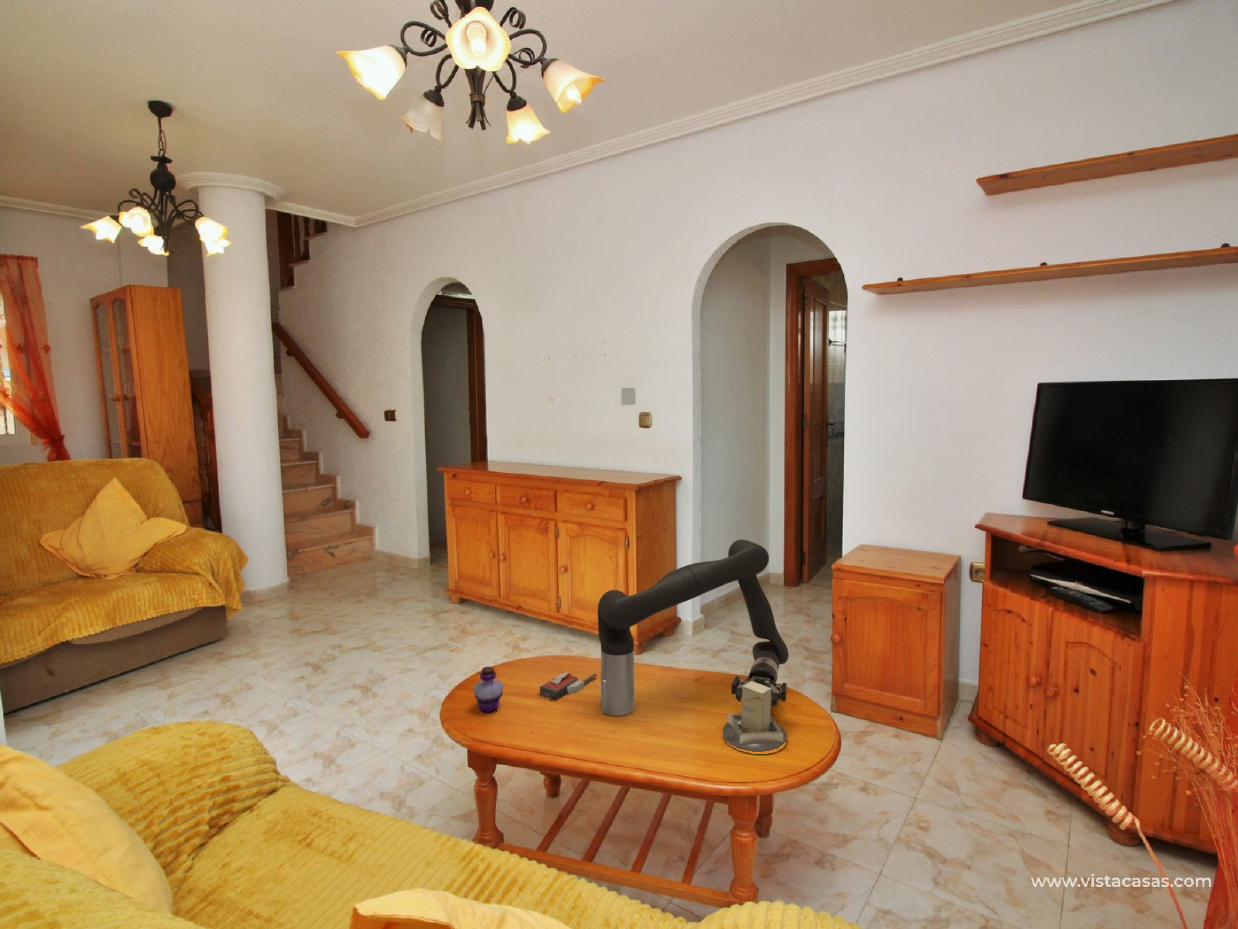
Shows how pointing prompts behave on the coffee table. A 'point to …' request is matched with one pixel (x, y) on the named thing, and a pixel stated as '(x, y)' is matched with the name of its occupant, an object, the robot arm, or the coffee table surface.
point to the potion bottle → (488, 691)
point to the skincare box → (755, 708)
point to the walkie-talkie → (563, 686)
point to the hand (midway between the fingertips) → (755, 700)
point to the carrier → (753, 735)
